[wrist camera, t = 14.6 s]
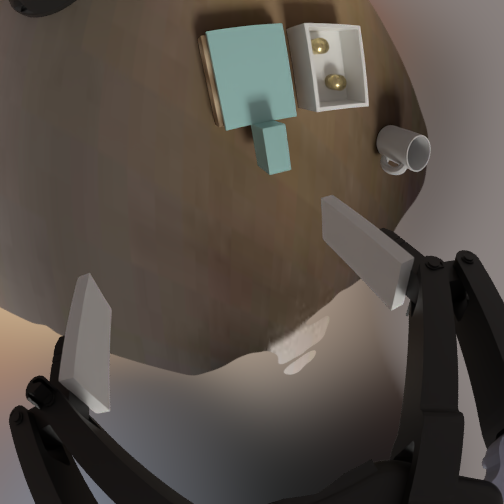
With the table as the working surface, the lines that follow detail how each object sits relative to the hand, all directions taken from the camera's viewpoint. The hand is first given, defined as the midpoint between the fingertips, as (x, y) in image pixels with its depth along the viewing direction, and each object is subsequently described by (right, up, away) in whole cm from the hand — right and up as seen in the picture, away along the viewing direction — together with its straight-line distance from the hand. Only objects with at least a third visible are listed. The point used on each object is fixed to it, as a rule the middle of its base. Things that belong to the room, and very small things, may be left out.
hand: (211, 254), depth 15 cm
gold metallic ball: (+12, +33, +22) cm, 41 cm away
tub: (+13, +31, +25) cm, 42 cm away
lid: (+3, +23, +22) cm, 32 cm away
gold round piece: (+15, +28, +26) cm, 42 cm away
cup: (+29, +22, +37) cm, 52 cm away
